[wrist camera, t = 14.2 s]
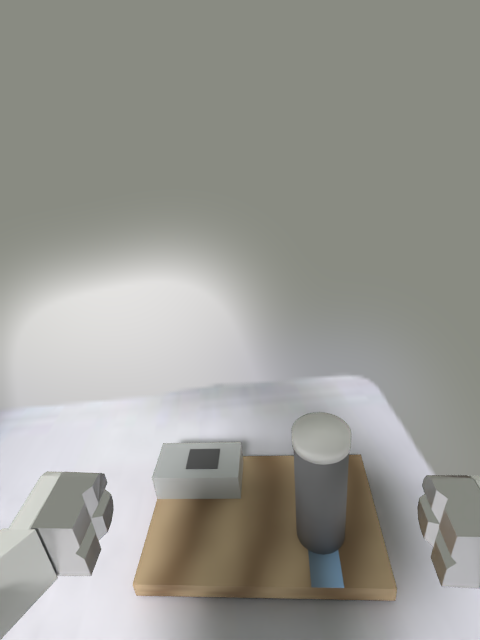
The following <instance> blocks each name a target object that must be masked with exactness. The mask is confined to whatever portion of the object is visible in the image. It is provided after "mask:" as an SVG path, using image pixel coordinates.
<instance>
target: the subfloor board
mask: <svg viewBox="0 0 480 640" xmlns="http://www.w3.org/2000/svg"><path fill="white" fill-rule="evenodd" d="M133 587H134V590H135V593H136V595H137V596H186V597H236V598H287V599H338V600H389V601H395V599H396V593H397V587H396V583H395V579H394V576H393V572H392V568H391V565H390V561H389V557H388V554H387V550H386V546H385V542H384V539H383V535H382V531H381V528H380V524H379V520H378V517H377V513H376V509H375V505H374V502H373V498H372V494H371V491H370V487H369V483H368V479H367V476H366V472H365V468H364V465H363V461H362V457H361V455H349V462H348V483H347V504H346V525H345V539H344V542H343V544H342V546H341V547H340V548H339V549H338V550H337V551H335V552H333V553H331V554H325V555H322V554H316V553H313V552H311V551H309V550H308V549H306V548H305V547H304V546H303V545H302V544H301V542H300V541H299V539H298V536H297V530H296V502H295V475H294V456H243V475H242V489H241V499H157V502H156V506H155V509H154V512H153V516H152V519H151V523H150V526H149V530H148V533H147V537H146V540H145V543H144V547H143V550H142V554H141V557H140V561H139V564H138V568H137V571H136V574H135V578H134V581H133Z"/></svg>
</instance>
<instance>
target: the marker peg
mask: <svg viewBox="0 0 480 640" xmlns="http://www.w3.org/2000/svg"><path fill="white" fill-rule="evenodd" d="M292 446H293V449H294V475H295V502H296V530H297V536H298V539H299V541H300V542H301V544H302V545H303V546H304V547H305V548H306V549H308V550H309V551H311V552H313V553H316V554H322V555H325V554H331V553H333V552H335V551H337V550H338V549H339V548H340V547H341V546H342V544H343V542H344V539H345V525H346V504H347V483H348V462H349V451H350V448H351V430H350V428H349V426H348V425H347V423H346V422H345V421H343V420H342V419H341V418H339V417H337V416H335V415H332V414H328V413H320V412H317V413H310V414H306V415H304V416H302V417H300V418H299V419H297V420H296V421H295V423H294V424H293V426H292Z"/></svg>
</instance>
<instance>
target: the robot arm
mask: <svg viewBox="0 0 480 640" xmlns="http://www.w3.org/2000/svg"><path fill="white" fill-rule="evenodd" d="M106 485H107V480H106V477H105V474H102V473H80V472H46V473H44V474H43V475H42V476H41V477H40V478H39V480H38V482H37V483H36V485H35V486H34V488H33V490H32V491H31V493H30V494H29V496H28V498H27V499H26V501H25V503H24V504H23V506H22V507H21V509H20V511H19V512H18V514H17V515H16V517H15V519H14V520H13V522H12V524H11V525H10V527H9V528H8V529H2V530H0V640H1V639H2V638H3V636H4V635H5V634H6V633H7V632H8V631H9V630H10V629H11V628H12V627H13V626H14V625H15V624H16V622H17V621H18V620H19V619H20V618H21V617H22V616H23V615H24V614H25V613H26V612H27V611H28V610H29V609H30V607H31V606H32V605H33V604H34V603H35V602H36V601H37V600H38V599H39V598H40V597H41V596H42V595H43V593H44V592H45V591H46V590H47V589H48V588H49V587H50V586H51V585H52V584H53V583H54V582H55V581H56V580H57V578H58V577H57V576H91V575H92V572H93V570H94V567H95V564H96V562H97V559H98V556H99V554H100V551H101V547H100V544H99V540H100V539H101V538H102V537H103V536H104V535H105V534H106V533H107V532H108V530H109V527H110V524H111V521H112V515H113V499H112V496H111V494H110V493H109V492H108V491H106V490H105V487H106ZM422 487H423V490H424V492H425V494H424V495H423V496H422V497H420V498H419V502H418V520H419V525H420V529H421V532H422V534H423V537H424V539H425V540H426V541H427V542H428V543H429V544H430V545H431V546H432V547H433V551H432V555H431V559H432V562H433V565H434V567H435V570H436V573H437V576H438V578H439V581H440V584H441V586H442V587H458V588H476V589H480V476H467V475H446V476H445V475H438V476H437V475H427V476H426V477H425V478H424V480H423V484H422Z"/></svg>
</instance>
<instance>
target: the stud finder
mask: <svg viewBox="0 0 480 640" xmlns="http://www.w3.org/2000/svg"><path fill="white" fill-rule="evenodd" d="M242 475H243V454H242V445H241V442H209V443H163V445H162V449H161V452H160V455H159V458H158V461H157V464H156V467H155V470H154V473H153V476H152V480H153V484H154V488H155V492H156V496H157V499H241V489H242Z"/></svg>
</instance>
